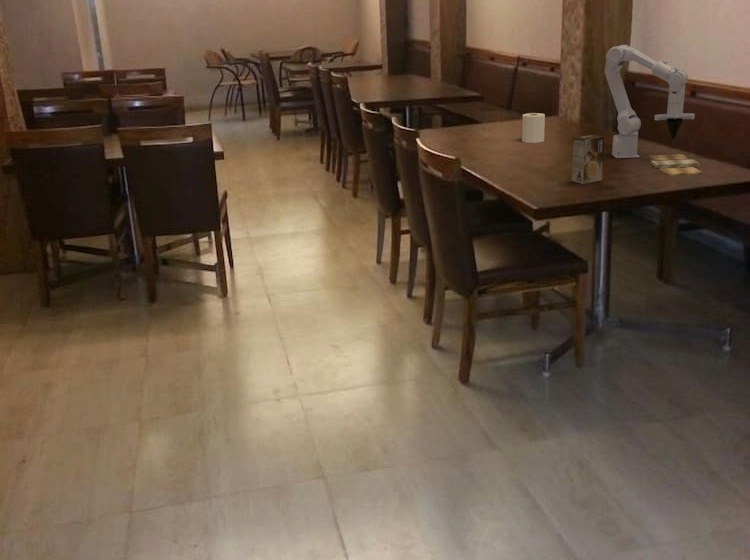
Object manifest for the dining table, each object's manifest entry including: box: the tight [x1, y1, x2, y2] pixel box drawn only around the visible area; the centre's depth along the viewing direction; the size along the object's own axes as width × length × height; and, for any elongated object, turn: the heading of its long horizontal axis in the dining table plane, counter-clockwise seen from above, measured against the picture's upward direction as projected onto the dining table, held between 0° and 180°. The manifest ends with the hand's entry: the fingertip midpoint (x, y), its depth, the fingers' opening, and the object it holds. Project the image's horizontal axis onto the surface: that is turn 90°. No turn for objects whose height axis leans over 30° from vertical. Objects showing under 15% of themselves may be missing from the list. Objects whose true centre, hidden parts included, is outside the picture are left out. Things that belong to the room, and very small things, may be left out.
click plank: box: [648, 153, 689, 161], centre depth 302 cm, size 13×9×1 cm
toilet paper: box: [521, 112, 546, 144], centre depth 351 cm, size 10×10×12 cm
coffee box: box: [571, 134, 605, 185], centre depth 275 cm, size 9×6×16 cm
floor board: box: [650, 158, 700, 169], centre depth 294 cm, size 16×8×2 cm, turn 86°
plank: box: [658, 167, 704, 177], centre depth 284 cm, size 13×9×1 cm
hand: (672, 138), depth 300 cm, fingers closed
